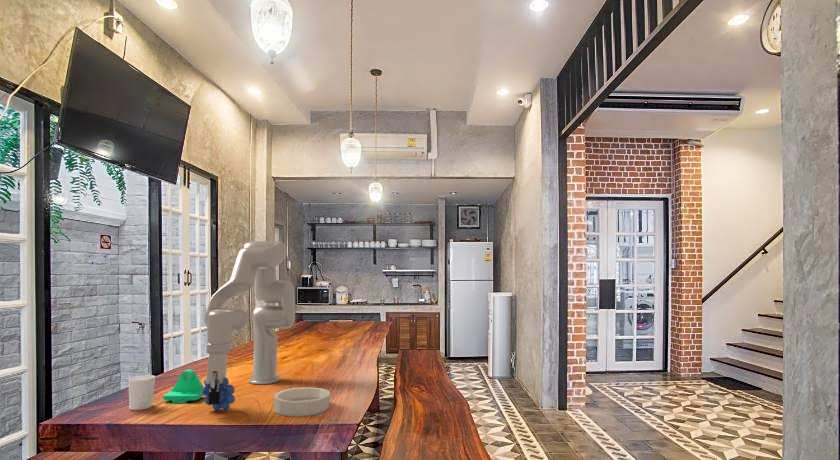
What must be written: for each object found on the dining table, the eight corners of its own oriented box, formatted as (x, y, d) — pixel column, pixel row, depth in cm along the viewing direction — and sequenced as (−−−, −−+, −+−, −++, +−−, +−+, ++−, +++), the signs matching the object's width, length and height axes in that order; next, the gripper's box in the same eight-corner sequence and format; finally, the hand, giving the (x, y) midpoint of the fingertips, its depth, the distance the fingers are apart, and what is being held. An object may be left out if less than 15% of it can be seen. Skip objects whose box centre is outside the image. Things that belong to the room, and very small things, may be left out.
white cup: (134, 412, 158) (136, 381, 159) (122, 408, 163) (124, 378, 163) (158, 406, 165) (159, 376, 166) (146, 402, 169) (147, 374, 170)
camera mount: (161, 403, 169) (163, 373, 170) (172, 397, 177) (173, 369, 177) (196, 403, 169) (197, 374, 170) (205, 397, 177) (206, 369, 178)
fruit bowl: (276, 402, 171) (276, 388, 172) (328, 399, 175) (328, 386, 176) (272, 418, 153) (272, 403, 154) (330, 414, 157) (330, 400, 158)
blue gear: (194, 414, 157) (195, 377, 158) (204, 408, 164) (206, 372, 165) (228, 415, 156) (229, 377, 157) (237, 409, 163) (238, 373, 164)
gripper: (211, 344, 169) (209, 393, 168) (201, 353, 152) (198, 408, 151) (234, 343, 171) (232, 392, 169) (226, 352, 154) (224, 406, 153)
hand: (216, 399), depth 160 cm, fingers open, 9 cm apart
